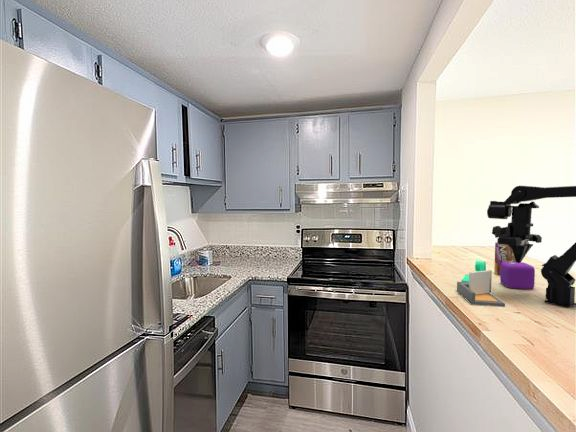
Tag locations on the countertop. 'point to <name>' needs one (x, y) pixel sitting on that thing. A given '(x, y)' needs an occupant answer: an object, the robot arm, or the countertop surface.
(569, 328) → the countertop surface
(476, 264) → the camera mount
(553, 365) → the countertop surface
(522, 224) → the robot arm
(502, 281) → the toy camera
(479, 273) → the door
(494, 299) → the camera case
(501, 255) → the candy box
